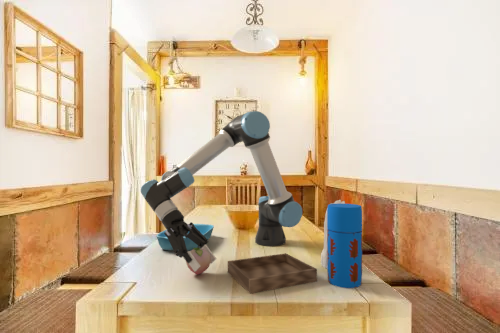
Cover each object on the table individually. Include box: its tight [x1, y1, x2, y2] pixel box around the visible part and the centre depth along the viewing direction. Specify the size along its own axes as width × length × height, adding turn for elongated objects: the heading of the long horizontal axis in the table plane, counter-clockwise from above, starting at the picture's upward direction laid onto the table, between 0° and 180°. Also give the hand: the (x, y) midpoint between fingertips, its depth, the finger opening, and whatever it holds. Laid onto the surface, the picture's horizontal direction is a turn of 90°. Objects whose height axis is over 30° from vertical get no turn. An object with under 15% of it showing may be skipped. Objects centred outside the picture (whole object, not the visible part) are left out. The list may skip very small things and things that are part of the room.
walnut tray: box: [227, 253, 318, 294], centre depth 106 cm, size 24×20×4 cm
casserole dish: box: [156, 223, 214, 252], centre depth 151 cm, size 37×22×7 cm, turn 173°
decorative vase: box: [320, 199, 346, 269], centre depth 117 cm, size 11×11×25 cm
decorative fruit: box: [185, 247, 212, 276], centre depth 108 cm, size 9×8×10 cm
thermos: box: [326, 203, 363, 289], centre depth 101 cm, size 11×11×25 cm
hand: (206, 264), depth 106 cm, fingers closed on decorative fruit, 9 cm apart
